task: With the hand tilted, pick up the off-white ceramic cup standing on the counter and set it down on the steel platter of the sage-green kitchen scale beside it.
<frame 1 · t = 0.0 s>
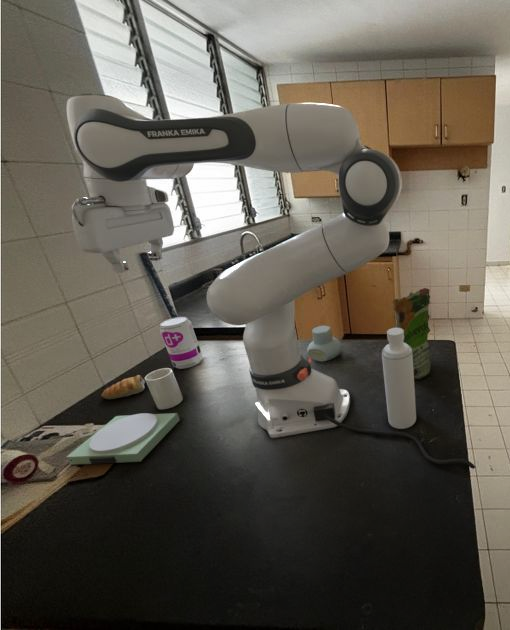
hand: (140, 265, 69), 39 cm above the worktop, tool pointing down, fingers open, 8 cm apart
pastry: (128, 392, 96), on the worktop
cup: (170, 402, 90), on the worktop
scale: (129, 440, 77), on the worktop
air freshener: (326, 357, 109), on the worktop
white bottle: (402, 420, 80), on the worktop
pouch: (414, 371, 99), on the worktop
supplement can: (189, 363, 109), on the worktop
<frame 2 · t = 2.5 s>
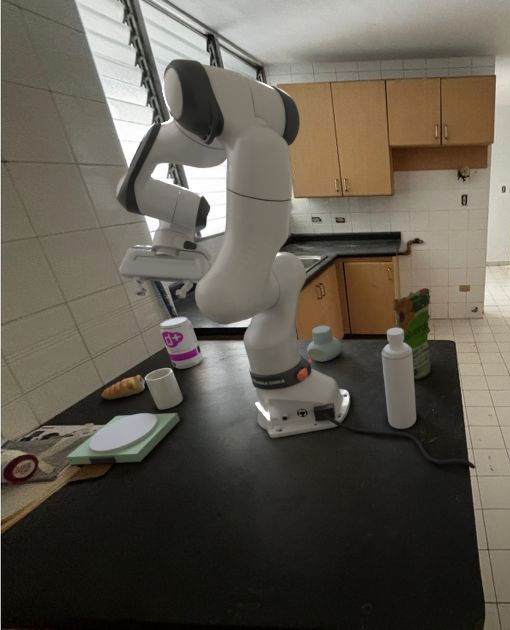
hand: (160, 296, 86), 28 cm above the worktop, tool tilted 40°, fingers open, 8 cm apart
nothing on the worktop moved.
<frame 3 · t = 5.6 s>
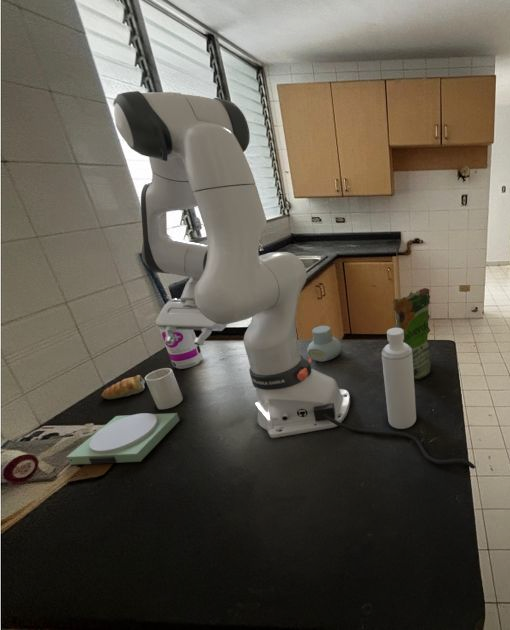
hand: (183, 343, 94), 13 cm above the worktop, tool tilted 45°, fingers open, 8 cm apart
nothing on the worktop moved.
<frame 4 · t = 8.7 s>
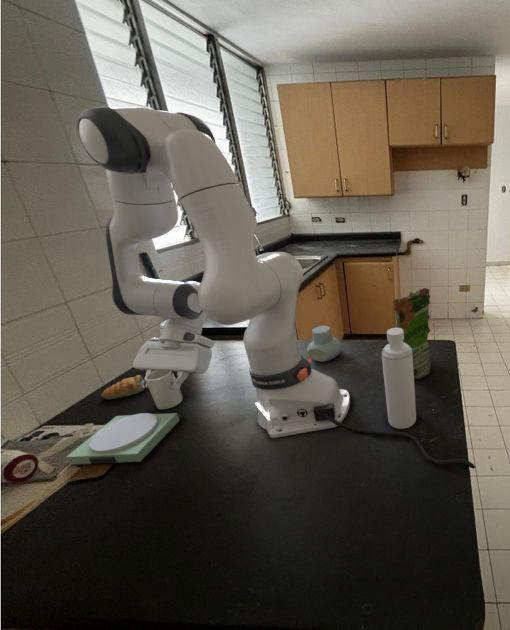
hand: (162, 388, 87), 5 cm above the worktop, tool tilted 45°, fingers closed on cup, 6 cm apart
cup: (170, 402, 90), on the worktop, touching gripper
everything else where it was.
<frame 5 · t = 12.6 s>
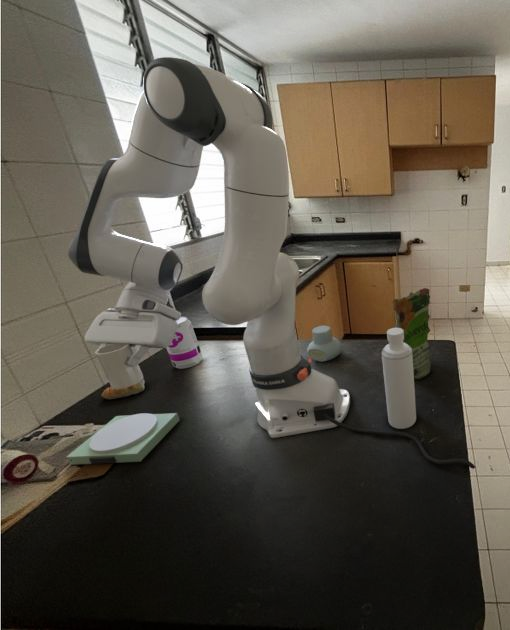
hand: (117, 365, 75), 17 cm above the worktop, tool tilted 45°, fingers closed on cup, 6 cm apart
cup: (128, 381, 77), point 12 cm above the worktop, touching gripper
everything else where it was.
when the fingers open (8 cm above the worktop, at t = 16.6 s): cup stays where it is, resting on scale.
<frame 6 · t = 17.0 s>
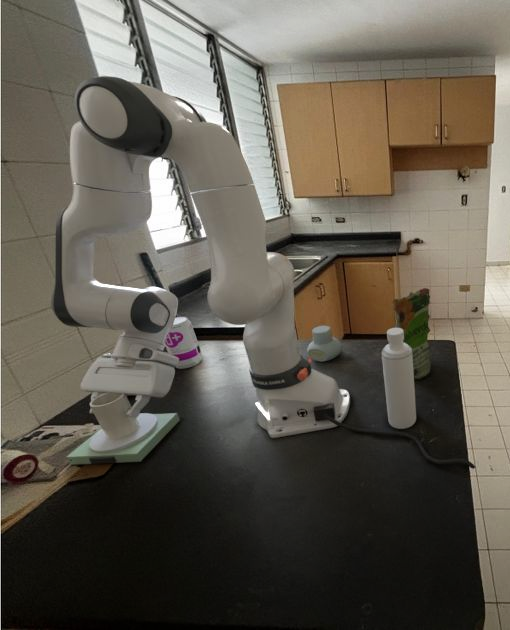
hand: (113, 415, 73), 8 cm above the worktop, tool tilted 45°, fingers open, 8 cm apart
cup: (123, 430, 76), point 3 cm above the worktop, touching scale
everything else where it was.
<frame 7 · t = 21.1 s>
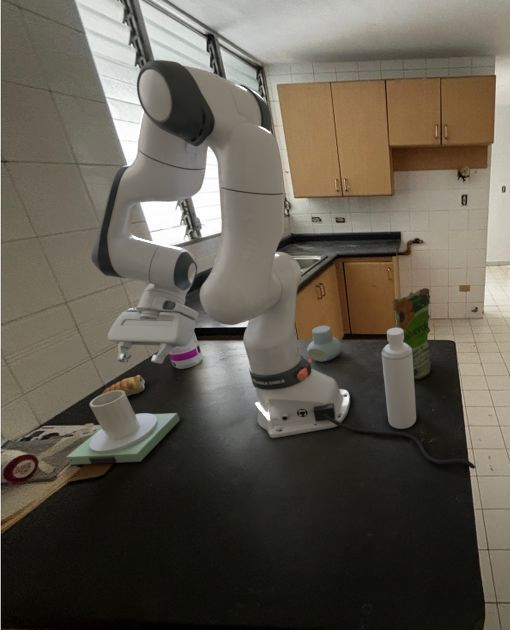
hand: (139, 362, 79), 16 cm above the worktop, tool tilted 45°, fingers open, 8 cm apart
nothing on the worktop moved.
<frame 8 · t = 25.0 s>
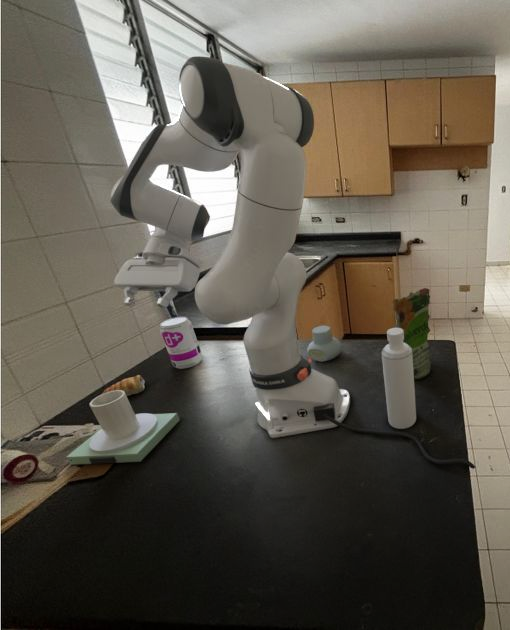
hand: (144, 305, 80), 27 cm above the worktop, tool tilted 45°, fingers open, 8 cm apart
nothing on the worktop moved.
at the end: cup 0.2 cm off-centre on the scale, point 3.0 cm above the scale's base; cup tilted 0°; the gripper is holding nothing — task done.
